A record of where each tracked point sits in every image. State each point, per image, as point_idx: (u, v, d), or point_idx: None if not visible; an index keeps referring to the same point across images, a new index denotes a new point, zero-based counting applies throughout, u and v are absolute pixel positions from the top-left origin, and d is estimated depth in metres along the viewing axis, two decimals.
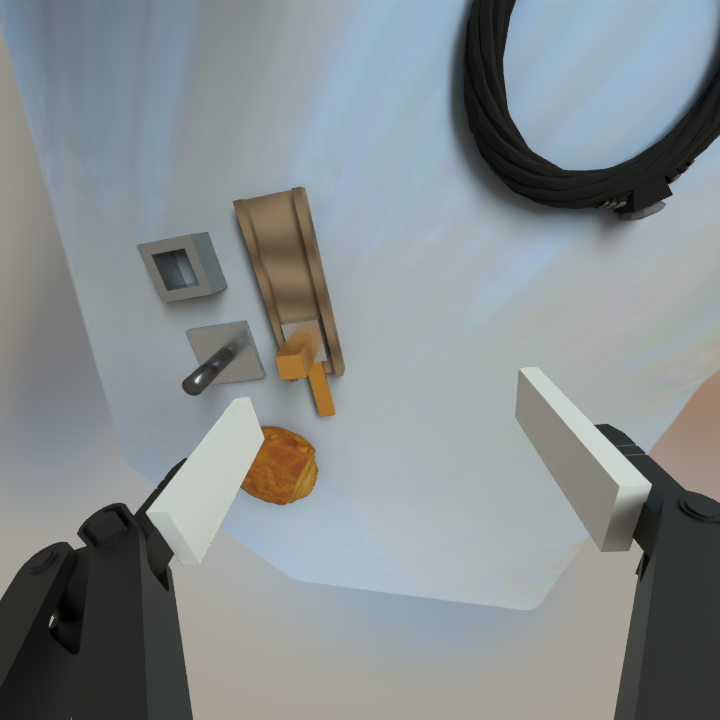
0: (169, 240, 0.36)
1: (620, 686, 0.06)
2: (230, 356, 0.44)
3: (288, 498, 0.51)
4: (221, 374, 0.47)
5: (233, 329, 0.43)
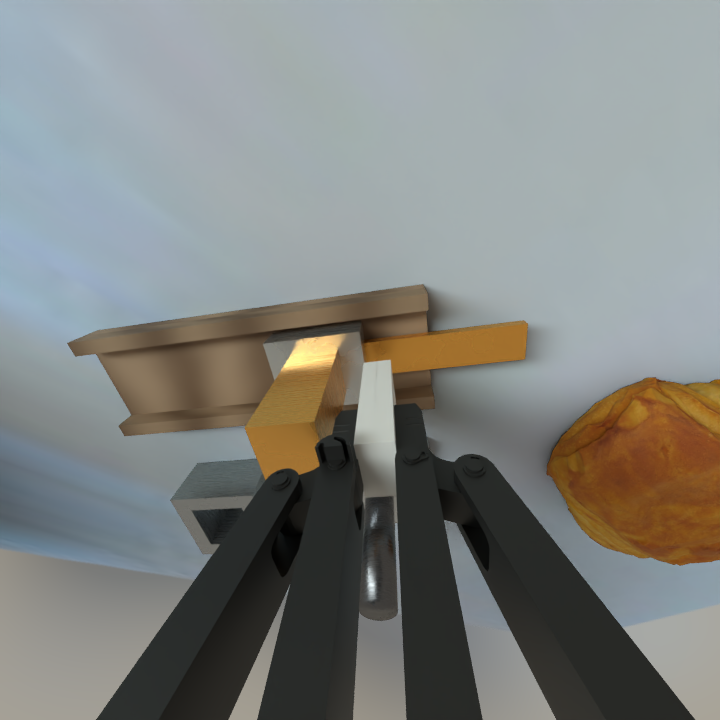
0: (186, 522, 0.26)
1: None
2: None
3: None
4: None
5: None
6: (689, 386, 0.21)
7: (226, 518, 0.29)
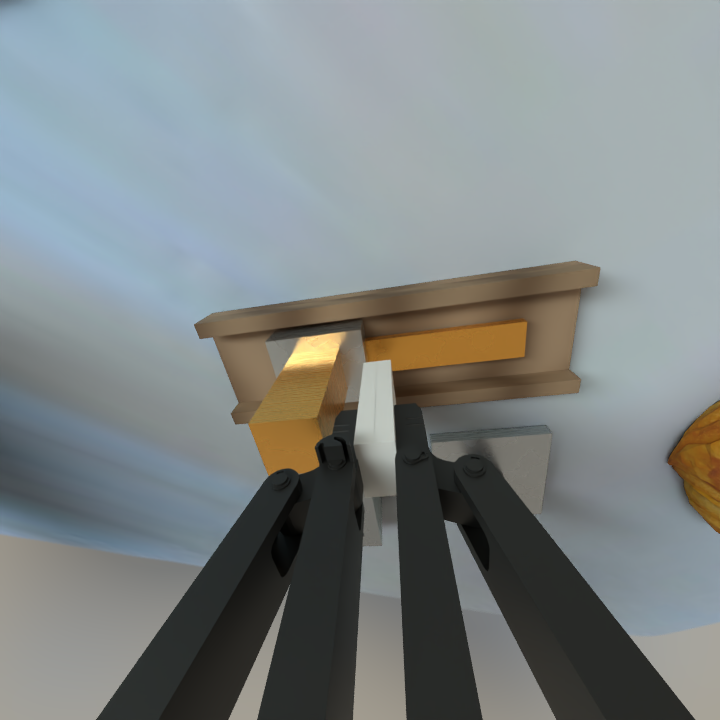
0: None
1: None
2: None
3: None
4: (525, 493, 0.26)
5: (442, 459, 0.25)
6: None
7: None
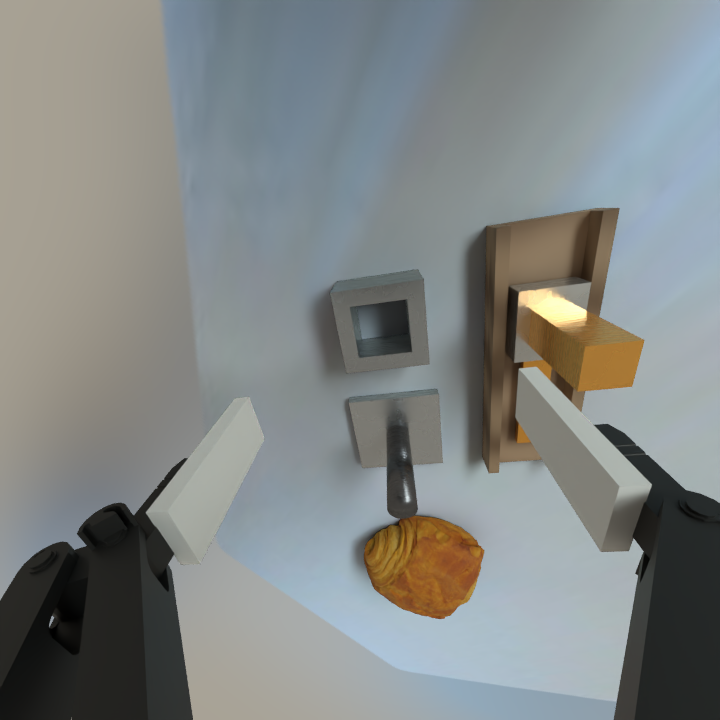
0: (386, 287, 0.23)
1: (620, 686, 0.06)
2: (409, 437, 0.32)
3: (450, 614, 0.38)
4: (383, 456, 0.34)
5: (420, 402, 0.30)
6: None
7: None
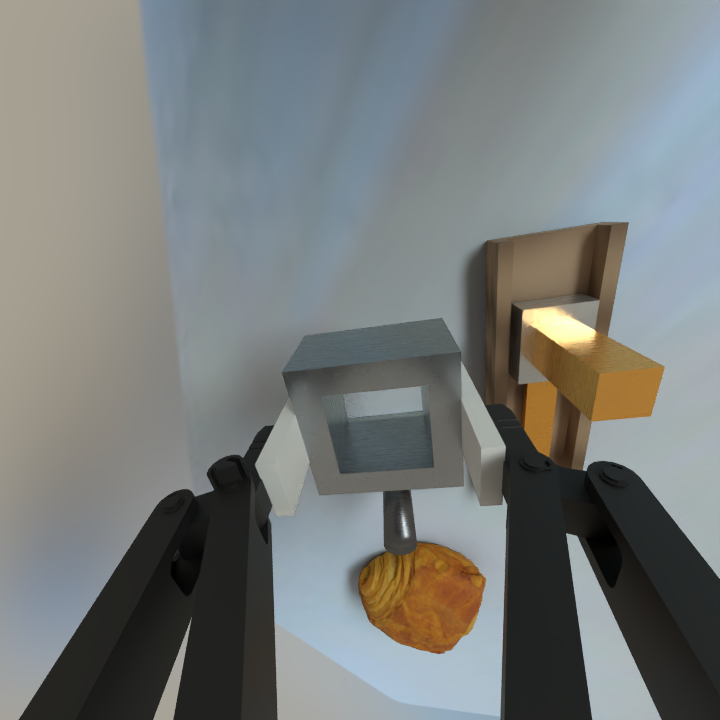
0: (388, 364, 0.12)
1: (503, 630, 0.08)
2: None
3: (450, 648, 0.36)
4: None
5: None
6: None
7: None
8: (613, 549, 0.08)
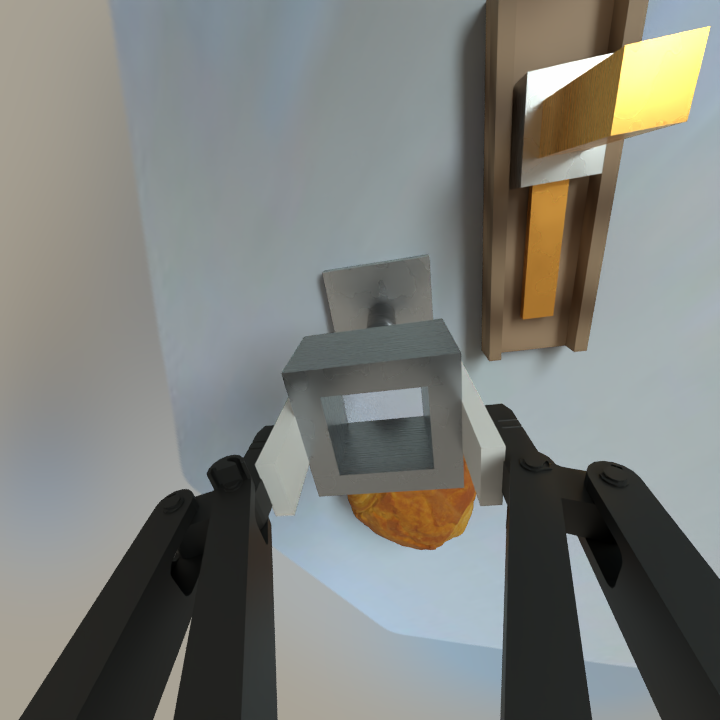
0: (388, 365, 0.12)
1: (503, 630, 0.08)
2: None
3: (442, 543, 0.33)
4: None
5: (407, 269, 0.26)
6: None
7: None
8: (613, 549, 0.08)
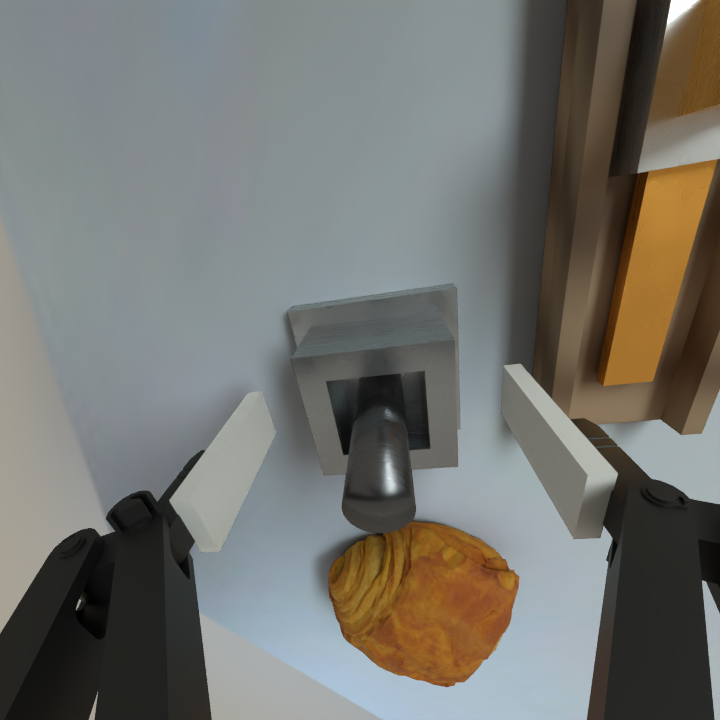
0: (388, 351, 0.13)
1: (594, 670, 0.07)
2: (400, 378, 0.17)
3: (464, 680, 0.24)
4: None
5: (421, 307, 0.16)
6: None
7: None
8: None
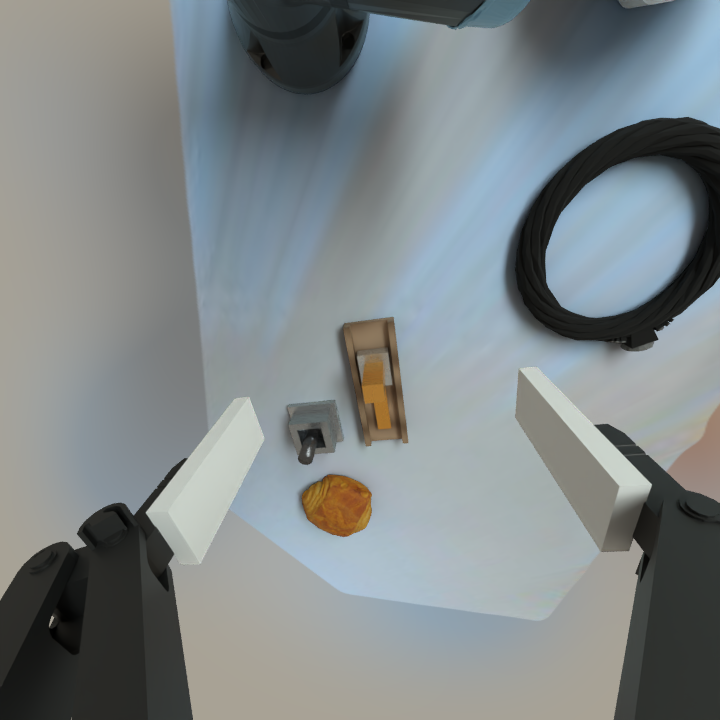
0: (311, 423, 0.53)
1: (620, 686, 0.06)
2: None
3: (351, 532, 0.64)
4: None
5: (325, 407, 0.57)
6: None
7: None
8: None
